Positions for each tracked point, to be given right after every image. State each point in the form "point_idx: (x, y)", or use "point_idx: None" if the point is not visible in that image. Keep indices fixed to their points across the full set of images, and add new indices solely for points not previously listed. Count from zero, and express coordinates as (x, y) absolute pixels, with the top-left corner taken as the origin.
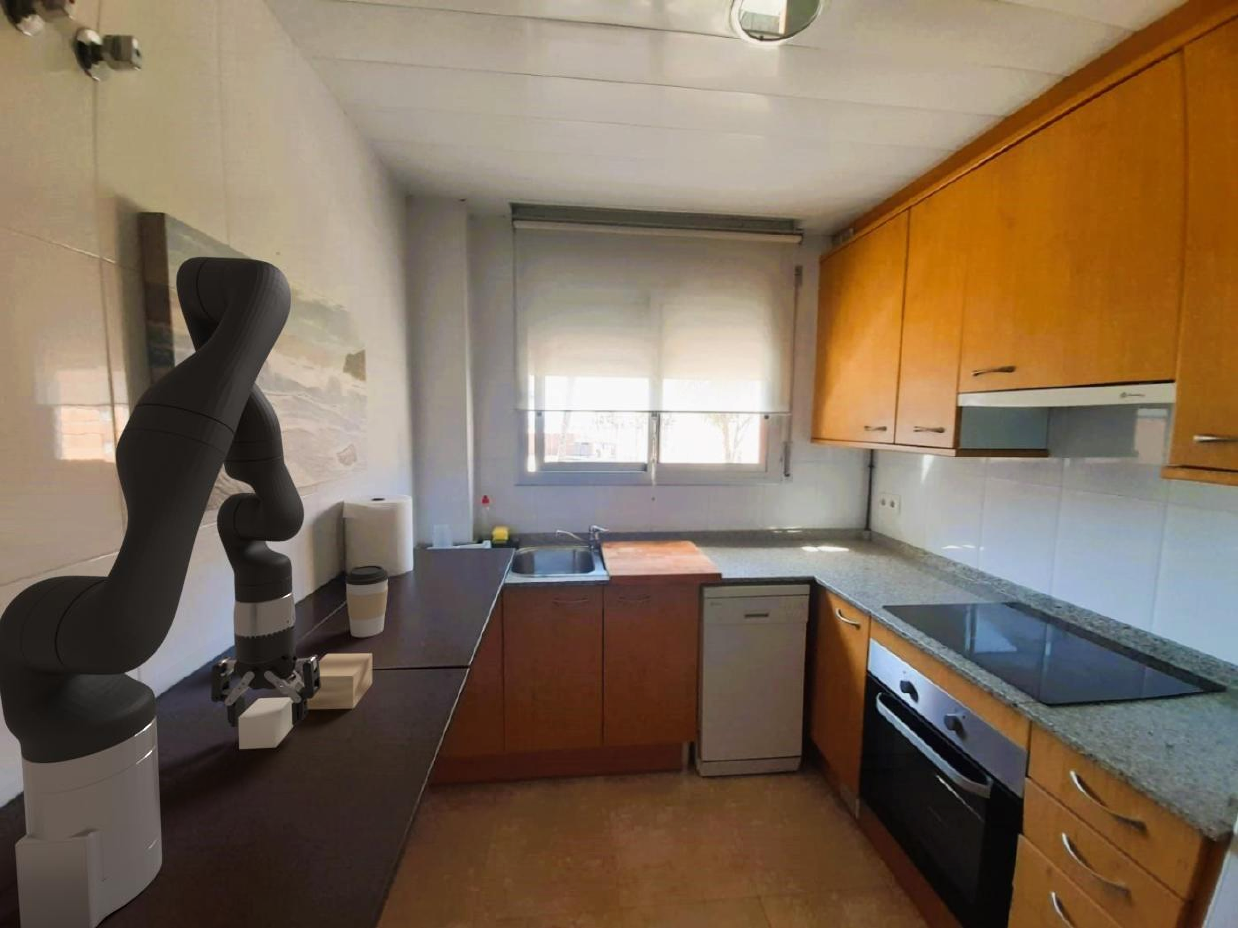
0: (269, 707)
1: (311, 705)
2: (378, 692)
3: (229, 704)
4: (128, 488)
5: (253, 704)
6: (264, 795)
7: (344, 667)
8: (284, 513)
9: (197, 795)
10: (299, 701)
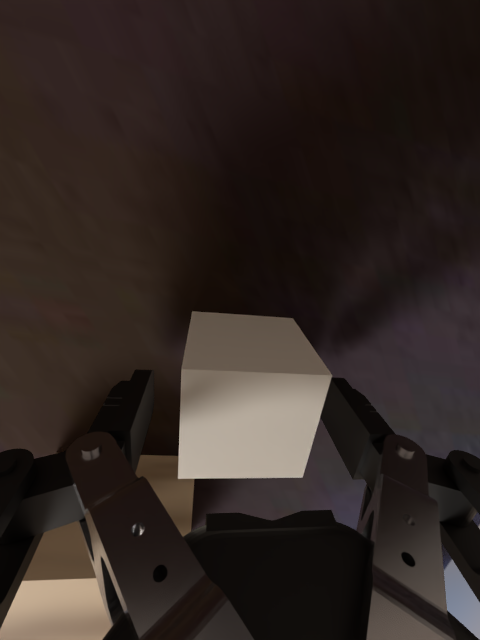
0: (238, 427)
1: (173, 465)
2: None
3: (395, 438)
4: None
5: (306, 447)
6: (88, 22)
7: (59, 615)
8: None
9: (329, 95)
10: (82, 437)
